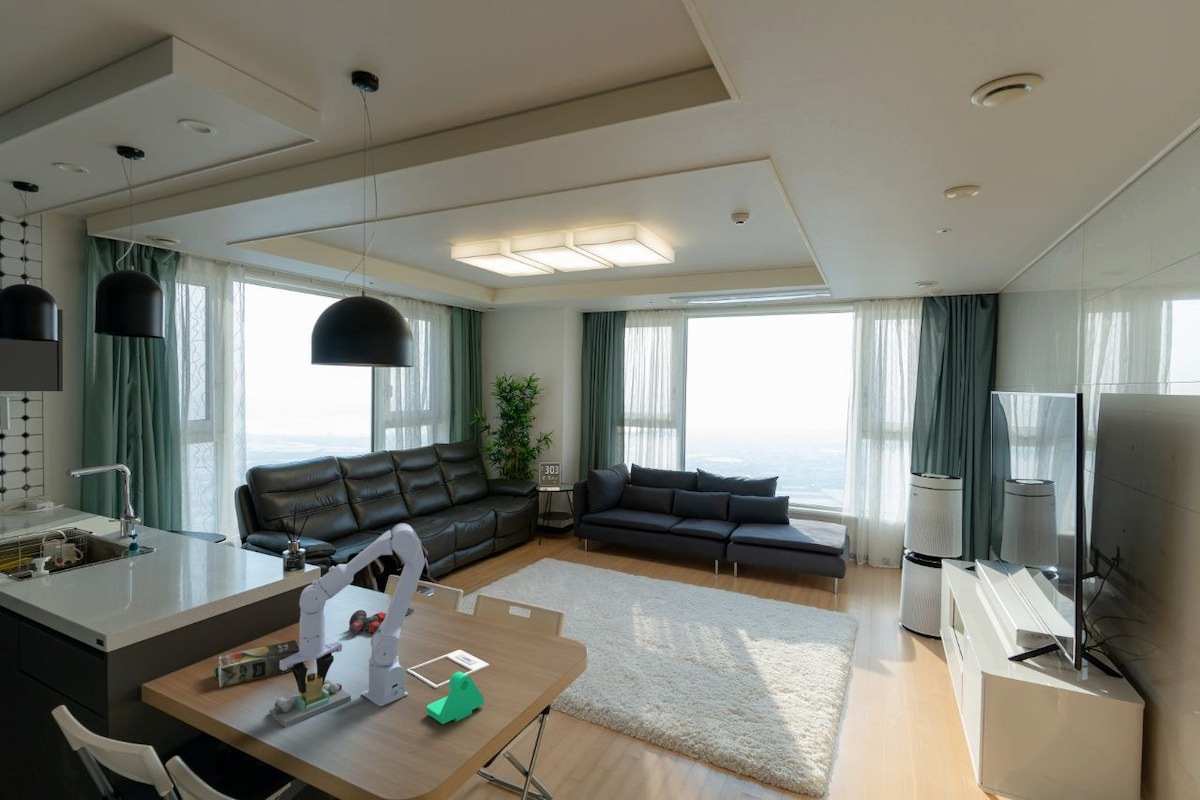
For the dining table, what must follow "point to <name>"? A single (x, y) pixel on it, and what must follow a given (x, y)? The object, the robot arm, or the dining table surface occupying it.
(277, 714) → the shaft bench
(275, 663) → the juice carton
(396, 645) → the robot arm
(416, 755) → the dining table surface
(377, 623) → the black red power tool
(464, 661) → the photo frame
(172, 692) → the dining table surface
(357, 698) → the dining table surface
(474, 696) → the camera mount
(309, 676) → the coupling block
